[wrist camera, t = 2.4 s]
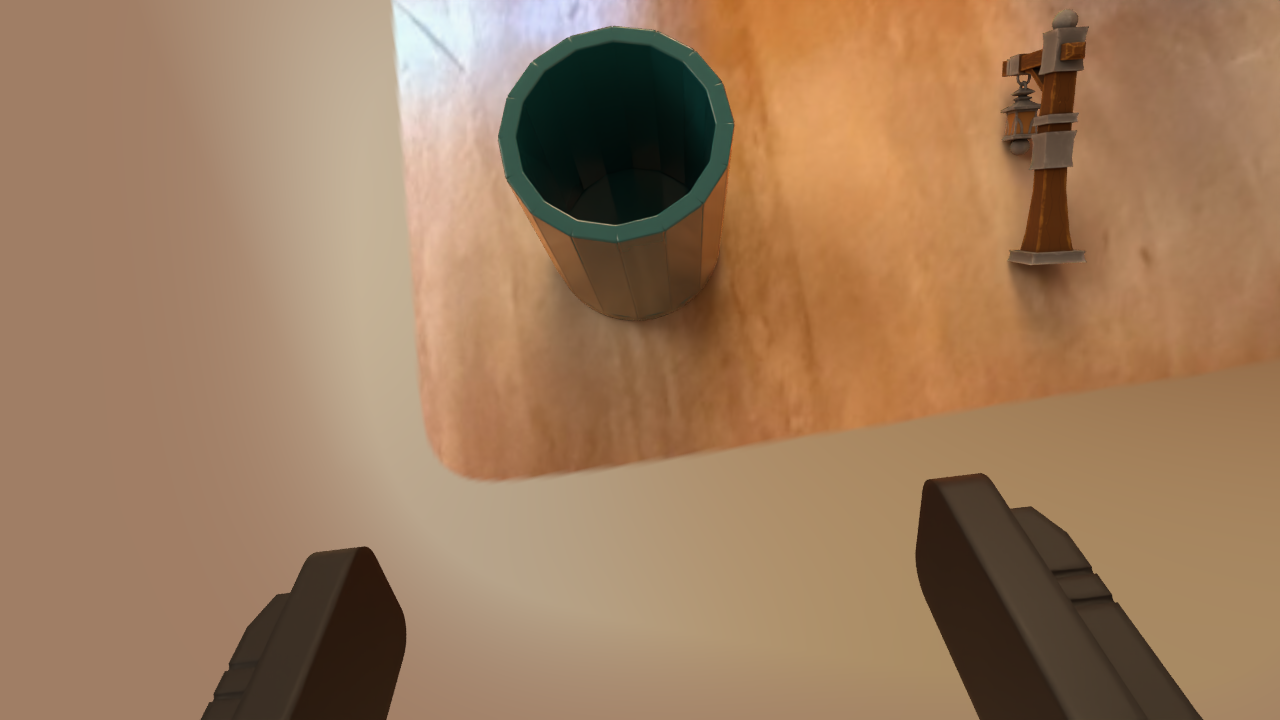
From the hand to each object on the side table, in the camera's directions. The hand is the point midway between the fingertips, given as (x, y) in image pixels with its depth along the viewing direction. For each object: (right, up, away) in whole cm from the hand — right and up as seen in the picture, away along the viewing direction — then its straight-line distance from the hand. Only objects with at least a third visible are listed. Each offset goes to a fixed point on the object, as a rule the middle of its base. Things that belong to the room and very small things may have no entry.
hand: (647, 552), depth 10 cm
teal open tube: (0, +7, +16) cm, 18 cm away
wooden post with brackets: (+14, +10, +16) cm, 23 cm away
